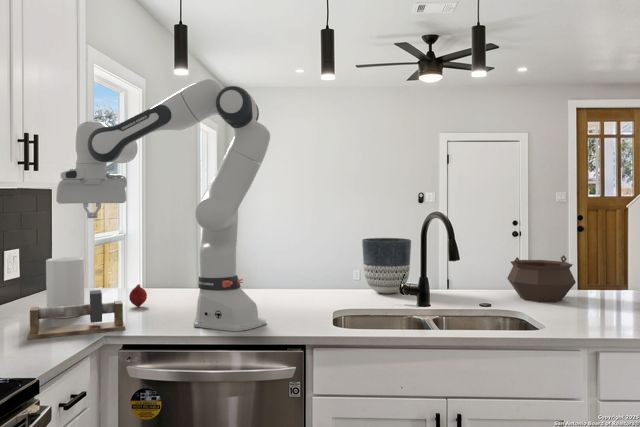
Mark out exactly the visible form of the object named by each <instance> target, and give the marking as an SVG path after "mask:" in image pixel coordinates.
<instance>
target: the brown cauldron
mask: <svg viewBox="0 0 640 427" xmlns="http://www.w3.org/2000/svg"><path fill="white" fill-rule="evenodd" d="M560 260H561V261H560ZM560 260H559V261H558V260H549V259H548V260H547V259H519V257H518V256H517V257H516V258H515V259H514V260H513V261H510V263H511V265H512V267H511V270H510V272H509V274H508V275H507V277H506V278H507V280H508V282H509V283H510V285H511V286H512V287H513V289H514V291H515V292H516V294H517V295H518V296H519V298H521V300H524V301H527V302H528V301H529V302H534V303H558V302H561V301H562V300H564V298H565V296H567V294H568V293H569V292H570V290H572V288H573V287H574V285H575V284H577V281H576V280H575V277H574V275H573V273H572V271H571V268H572V266H574V264H572V263H569V262H567V261H566V260H567V257H566V256H565V255H564V254H563V255H562V256H561V257H560Z"/></svg>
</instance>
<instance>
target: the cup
mask: <svg viewBox="0 0 640 427" xmlns="http://www.w3.org/2000/svg"><path fill="white" fill-rule="evenodd" d="M84 261H85V260H84V258H83V257H77V256H69V257H68V256H67V257H66V256H64V257H51V258H48V259H46V260H45V274H46V275H45V276H46V277H45V282H46V283H45V285H46V308H48V307H61V306H74V305H85V270H84V269H85V268H84V266H85V265H84V264H85V263H84ZM77 317H78V316H70V317H58V318H53V319H57V320H58V319H70V318H77Z"/></svg>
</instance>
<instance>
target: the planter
mask: <svg viewBox="0 0 640 427" xmlns="http://www.w3.org/2000/svg"><path fill="white" fill-rule="evenodd" d="M361 243H362V260H363V261H362V263H363V273H364V277H365V281H366V283H367V284H368V286H369V287H370V288H371V289H372V290H373V291H374V292H376V293H380V294H384V295H385V294H386V295H387V294H388V295H389V294H395V293H397V292H399V291H400V290H399V287H400V284H401V281H402V278H403V275H404V274H405V277H404V279H403V282H402V284H403V285H404V284H405V285H406V284H407V283H408V281H409V276H410V270H411V251H412V240H411V239H410V238H400V237H398V238H397V237H396V238H395V237H373V238H372V237H370V238H369V237H368V238H363V239H362V240H361ZM405 272H406V273H405Z"/></svg>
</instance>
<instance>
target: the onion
mask: <svg viewBox="0 0 640 427" xmlns="http://www.w3.org/2000/svg"><path fill="white" fill-rule="evenodd" d="M147 298H148V294H147V291H146V290H145V289H144V288H143V287H141V284H140V283H138V284H136V286H135V287H134V288H133V289H132V290H131V291H130V293H129V299H128V300H129V301H130V303H131V304H132V305H134V306H135V307H137V308H139V307H141V306H142V305H143V304H145V302H146V300H147Z"/></svg>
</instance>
